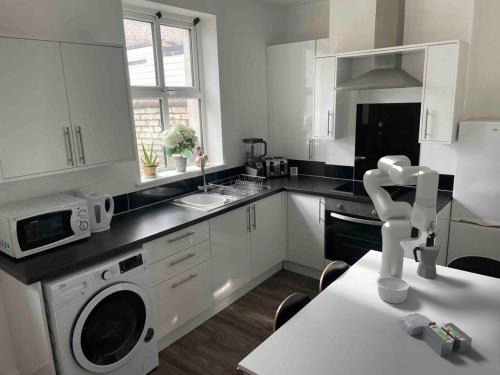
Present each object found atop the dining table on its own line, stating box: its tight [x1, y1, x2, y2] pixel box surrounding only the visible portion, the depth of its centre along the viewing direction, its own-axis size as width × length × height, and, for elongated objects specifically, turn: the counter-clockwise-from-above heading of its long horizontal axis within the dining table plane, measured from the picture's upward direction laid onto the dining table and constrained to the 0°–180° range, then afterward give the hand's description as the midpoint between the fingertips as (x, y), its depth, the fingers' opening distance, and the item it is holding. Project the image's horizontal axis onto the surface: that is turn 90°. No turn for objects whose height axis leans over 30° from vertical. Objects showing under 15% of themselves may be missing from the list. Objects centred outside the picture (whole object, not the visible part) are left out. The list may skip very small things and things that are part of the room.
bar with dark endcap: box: [429, 321, 454, 346], centre depth 140 cm, size 11×2×6 cm, turn 12°
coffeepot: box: [412, 242, 442, 279], centre depth 190 cm, size 15×9×18 cm, turn 103°
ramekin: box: [376, 277, 410, 304], centre depth 171 cm, size 13×13×7 cm
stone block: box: [396, 313, 433, 336], centre depth 150 cm, size 12×5×10 cm
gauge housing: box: [421, 322, 473, 357], centre depth 138 cm, size 10×12×5 cm
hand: (421, 241), depth 155 cm, fingers open, 9 cm apart
